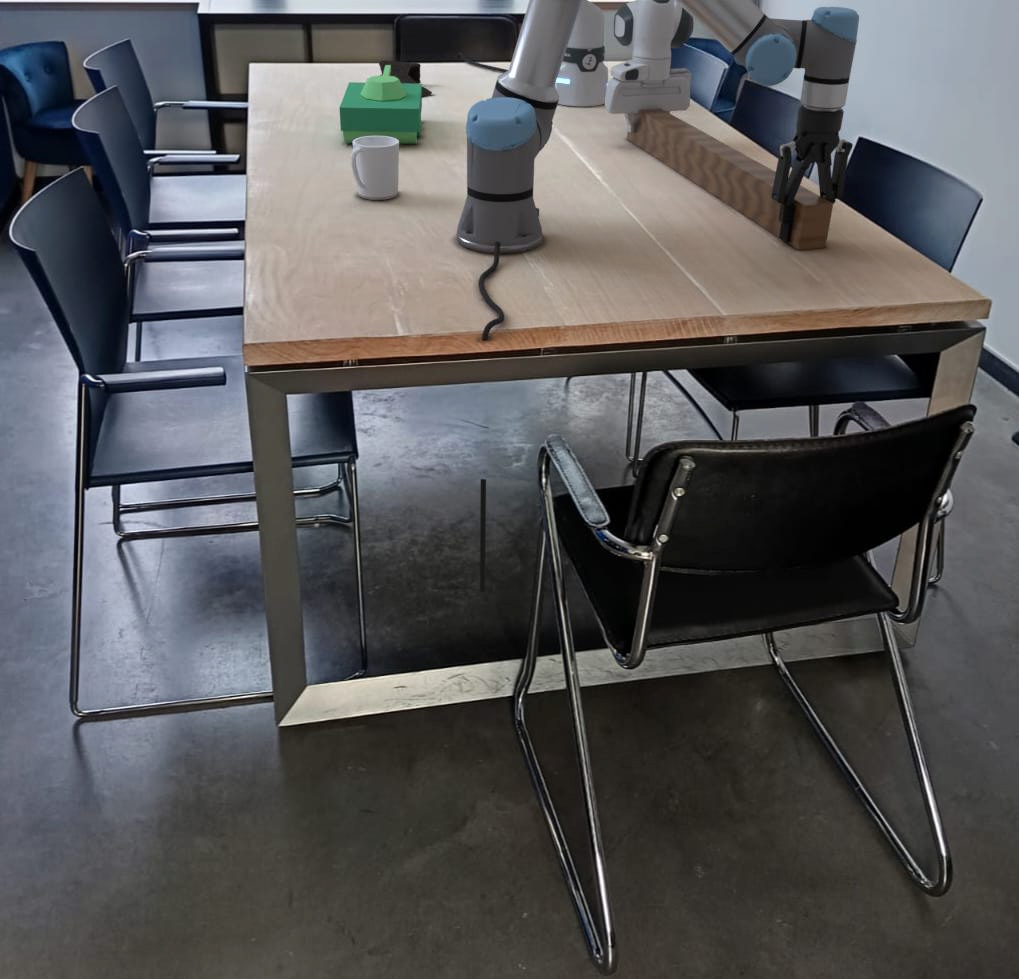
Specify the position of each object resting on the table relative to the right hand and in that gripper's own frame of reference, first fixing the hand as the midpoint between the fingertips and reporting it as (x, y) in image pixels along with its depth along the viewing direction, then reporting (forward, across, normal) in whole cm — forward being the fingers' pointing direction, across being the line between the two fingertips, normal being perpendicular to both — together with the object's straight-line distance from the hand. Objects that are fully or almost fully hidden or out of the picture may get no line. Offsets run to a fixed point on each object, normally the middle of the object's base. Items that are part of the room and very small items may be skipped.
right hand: (645, 131), depth 256 cm
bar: (+3, 0, +36) cm, 36 cm away
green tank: (+3, +57, -26) cm, 63 cm away
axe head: (+3, +44, -66) cm, 80 cm away
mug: (+3, +70, +28) cm, 75 cm away
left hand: (+2, 0, +72) cm, 72 cm away
